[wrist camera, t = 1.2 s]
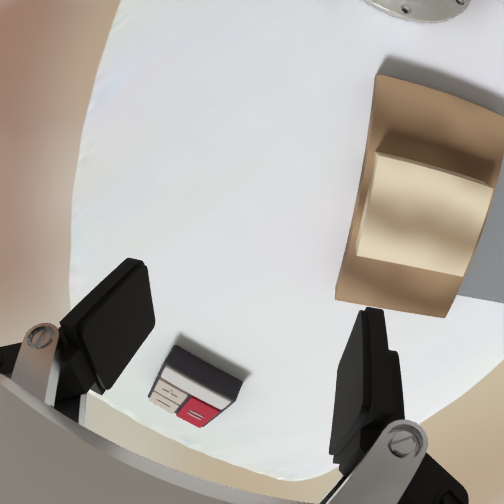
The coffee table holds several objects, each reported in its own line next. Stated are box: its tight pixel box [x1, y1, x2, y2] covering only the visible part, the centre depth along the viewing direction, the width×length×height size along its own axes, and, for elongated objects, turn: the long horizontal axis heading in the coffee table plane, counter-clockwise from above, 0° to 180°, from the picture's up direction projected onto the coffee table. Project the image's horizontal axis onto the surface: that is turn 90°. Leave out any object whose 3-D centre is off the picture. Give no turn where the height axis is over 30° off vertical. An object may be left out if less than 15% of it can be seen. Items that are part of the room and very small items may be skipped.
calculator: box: [148, 345, 242, 428], centre depth 43 cm, size 11×4×15 cm
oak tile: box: [355, 151, 493, 277], centre depth 21 cm, size 8×10×2 cm
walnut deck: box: [335, 74, 504, 318], centre depth 23 cm, size 20×12×2 cm, turn 176°
